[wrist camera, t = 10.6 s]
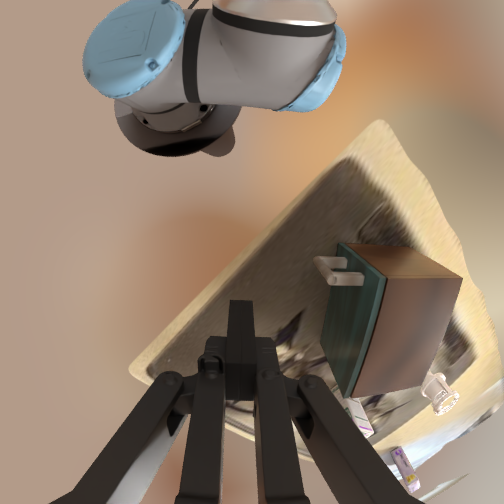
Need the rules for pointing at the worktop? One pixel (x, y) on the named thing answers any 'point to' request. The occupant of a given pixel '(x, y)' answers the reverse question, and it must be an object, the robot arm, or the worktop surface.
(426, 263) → the cupboard
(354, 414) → the syrup box
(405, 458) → the purple printed carton
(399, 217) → the worktop surface
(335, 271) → the cupboard door
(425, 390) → the white slotted fitting
